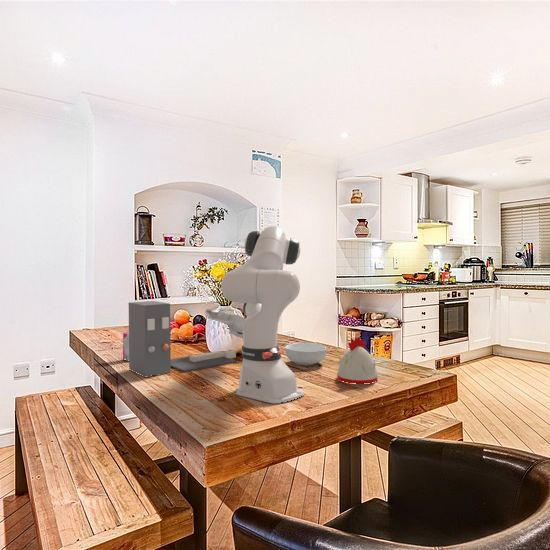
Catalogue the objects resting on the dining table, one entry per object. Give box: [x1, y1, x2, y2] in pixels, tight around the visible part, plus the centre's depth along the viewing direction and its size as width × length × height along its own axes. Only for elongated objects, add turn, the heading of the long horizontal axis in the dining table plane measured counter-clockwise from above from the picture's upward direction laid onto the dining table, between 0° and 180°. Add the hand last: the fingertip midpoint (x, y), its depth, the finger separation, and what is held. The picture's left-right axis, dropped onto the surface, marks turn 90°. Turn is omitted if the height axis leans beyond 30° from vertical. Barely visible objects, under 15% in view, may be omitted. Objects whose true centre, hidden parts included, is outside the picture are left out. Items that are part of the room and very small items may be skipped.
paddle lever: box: [189, 349, 237, 362], centre depth 178 cm, size 6×20×3 cm, turn 131°
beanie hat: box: [336, 336, 378, 384], centre depth 148 cm, size 14×14×15 cm
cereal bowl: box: [284, 342, 328, 367], centre depth 171 cm, size 17×17×7 cm
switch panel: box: [128, 300, 172, 377], centre depth 158 cm, size 15×10×26 cm
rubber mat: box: [171, 355, 236, 373], centre depth 172 cm, size 20×24×1 cm
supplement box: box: [122, 332, 129, 360], centre depth 177 cm, size 6×6×12 cm
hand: (212, 311), depth 177 cm, fingers open, 8 cm apart
